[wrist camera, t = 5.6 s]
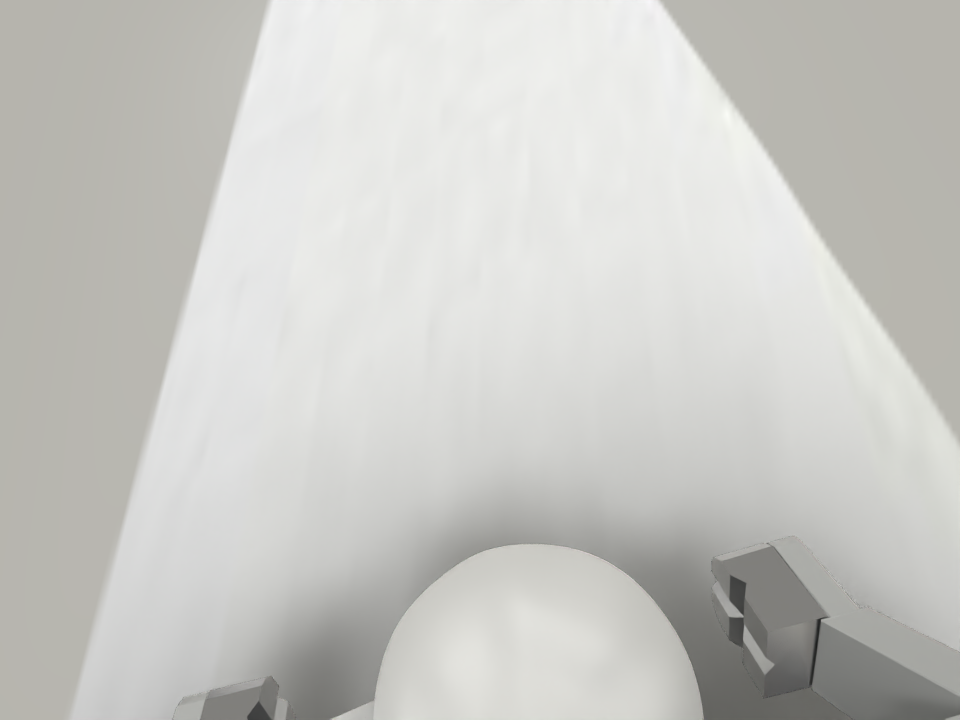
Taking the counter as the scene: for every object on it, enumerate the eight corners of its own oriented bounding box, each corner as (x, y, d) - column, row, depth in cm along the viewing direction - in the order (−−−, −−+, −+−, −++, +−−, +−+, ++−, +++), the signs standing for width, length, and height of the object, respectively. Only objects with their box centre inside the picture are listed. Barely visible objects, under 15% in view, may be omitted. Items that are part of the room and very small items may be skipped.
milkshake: (406, 537, 17) (277, 549, 7) (599, 536, 16) (737, 546, 7) (401, 720, 15) (237, 1041, 6) (610, 721, 15) (797, 1050, 6)
